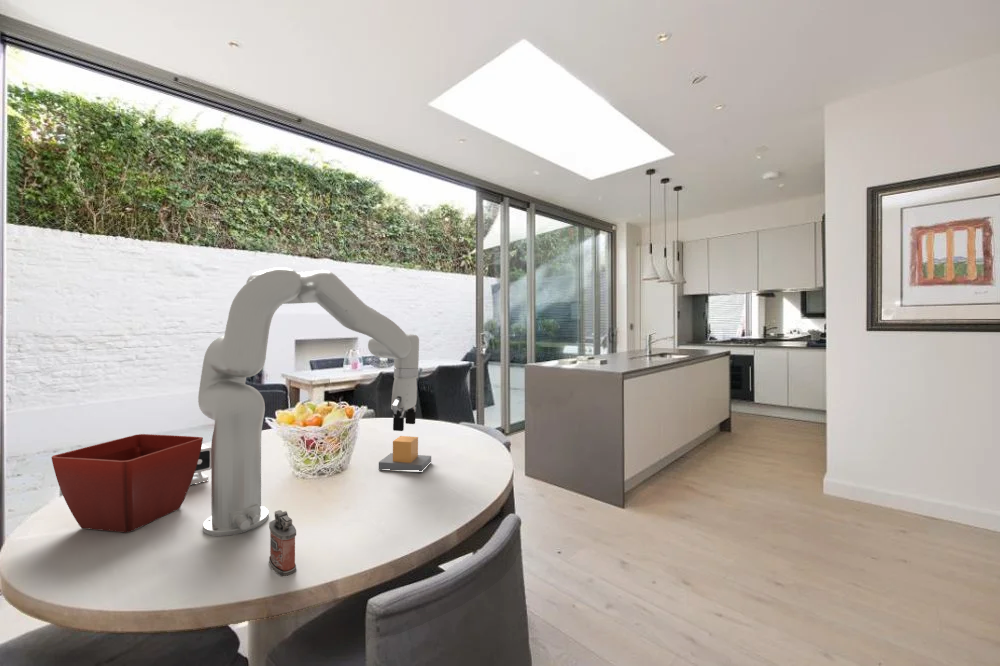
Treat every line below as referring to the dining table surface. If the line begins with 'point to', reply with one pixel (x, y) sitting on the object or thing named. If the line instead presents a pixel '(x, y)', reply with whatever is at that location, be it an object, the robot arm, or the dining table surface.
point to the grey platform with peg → (405, 463)
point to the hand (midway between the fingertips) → (404, 427)
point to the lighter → (282, 544)
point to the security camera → (202, 465)
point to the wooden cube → (405, 449)
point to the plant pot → (127, 480)
